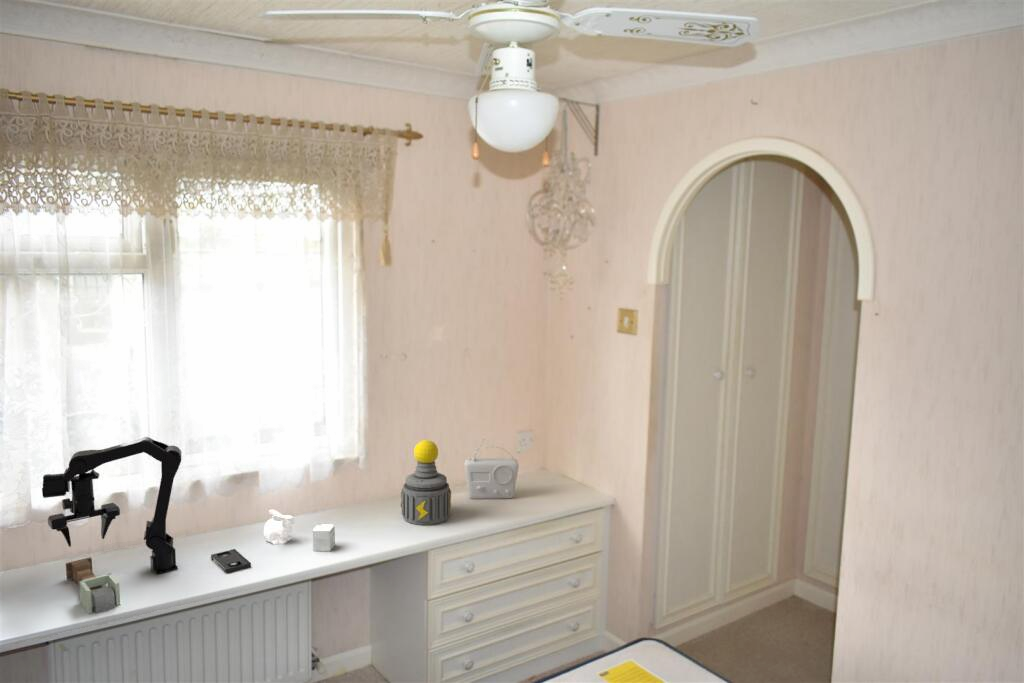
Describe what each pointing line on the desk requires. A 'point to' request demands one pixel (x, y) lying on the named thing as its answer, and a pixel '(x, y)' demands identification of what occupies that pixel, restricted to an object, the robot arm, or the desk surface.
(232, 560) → the vhs tape
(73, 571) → the brown wooden stepped block
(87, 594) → the cradle
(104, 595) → the block
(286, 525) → the rabbit
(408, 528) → the desk surface
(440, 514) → the decorative lamp
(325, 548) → the skincare box
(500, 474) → the radio
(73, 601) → the desk surface
